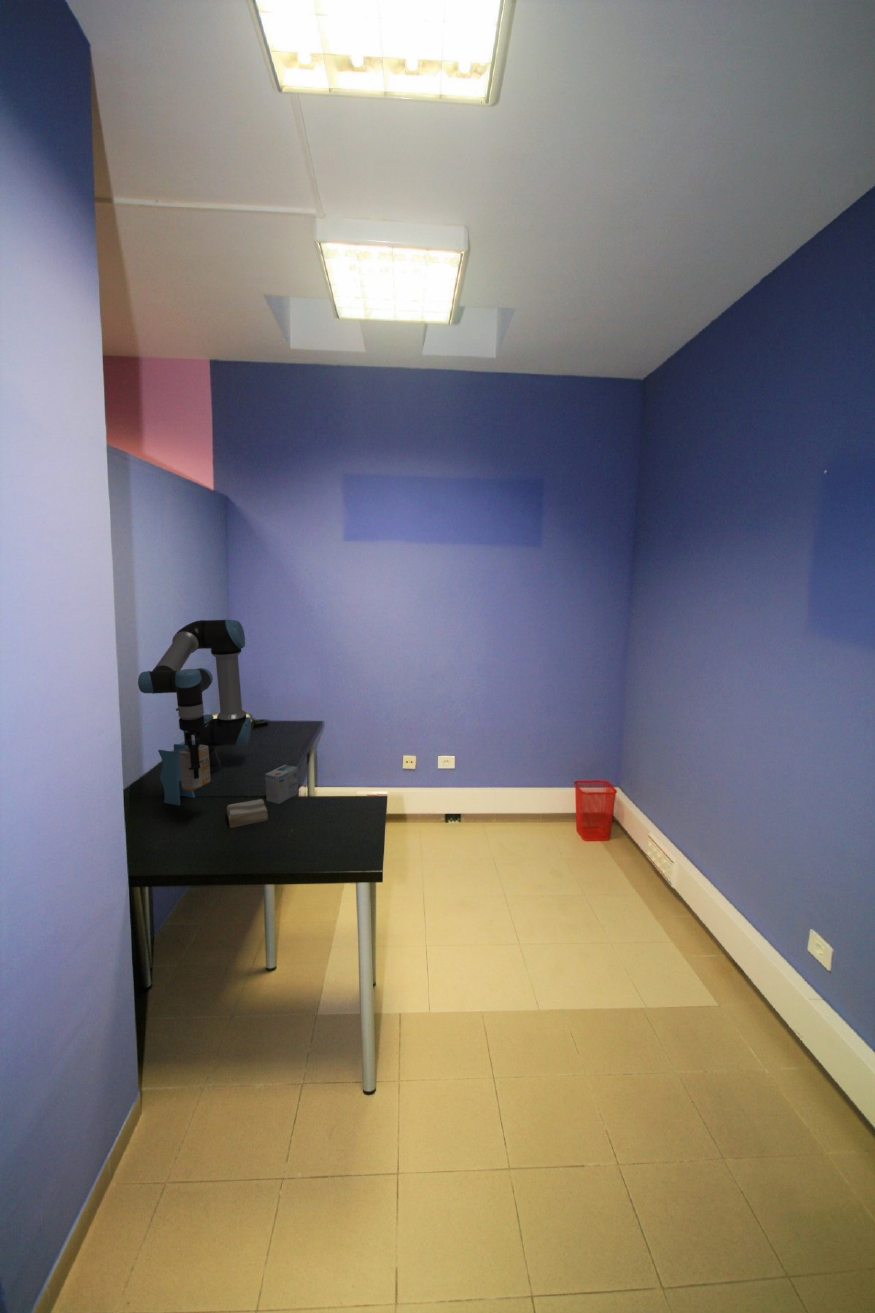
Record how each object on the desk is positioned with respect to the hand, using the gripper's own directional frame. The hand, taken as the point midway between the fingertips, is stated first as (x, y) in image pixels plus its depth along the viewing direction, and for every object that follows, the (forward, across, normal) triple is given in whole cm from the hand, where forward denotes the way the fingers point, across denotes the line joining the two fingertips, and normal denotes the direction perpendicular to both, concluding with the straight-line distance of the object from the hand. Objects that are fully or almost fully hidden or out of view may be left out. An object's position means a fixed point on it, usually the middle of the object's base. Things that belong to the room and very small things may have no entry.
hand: (196, 781), depth 174 cm
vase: (+15, -22, -6) cm, 28 cm away
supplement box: (+2, 0, 0) cm, 2 cm away
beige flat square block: (+14, +5, +15) cm, 21 cm away
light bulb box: (+15, -7, +29) cm, 33 cm away
